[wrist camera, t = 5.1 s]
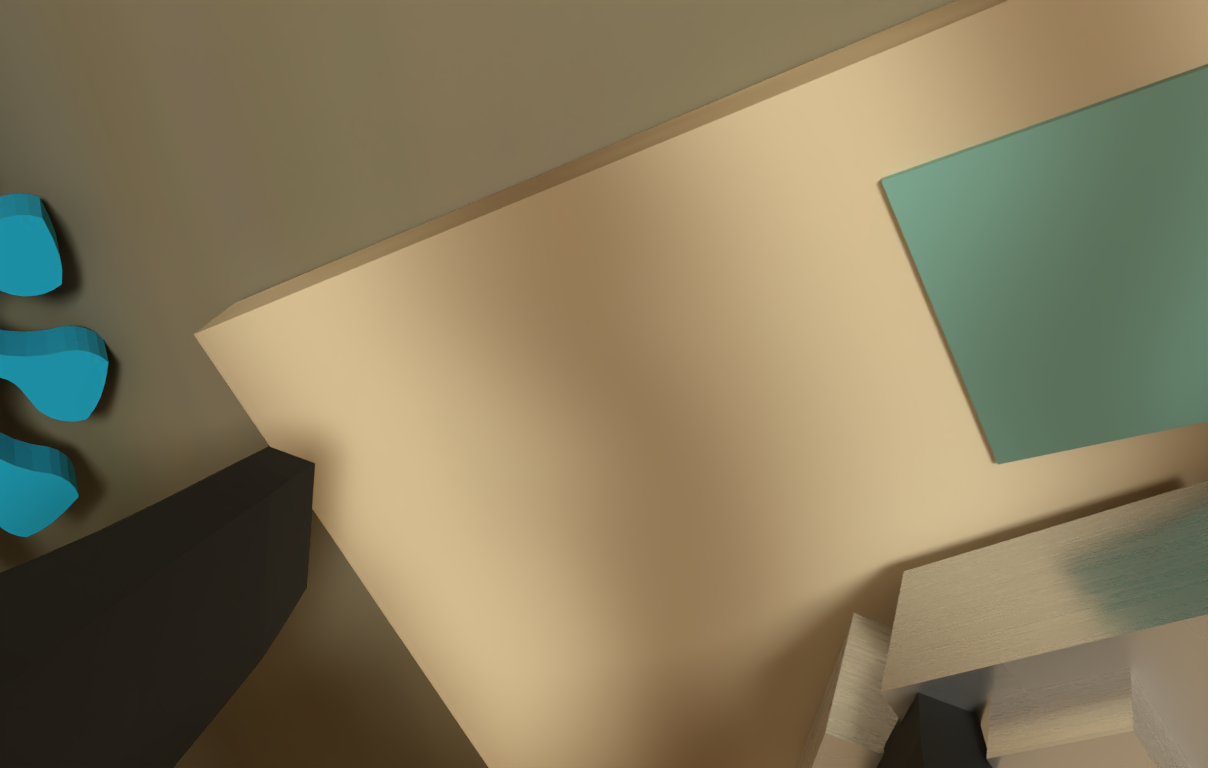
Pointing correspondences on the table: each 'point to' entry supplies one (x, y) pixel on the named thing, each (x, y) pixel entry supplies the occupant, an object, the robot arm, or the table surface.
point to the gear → (41, 371)
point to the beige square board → (757, 374)
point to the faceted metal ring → (1044, 646)
